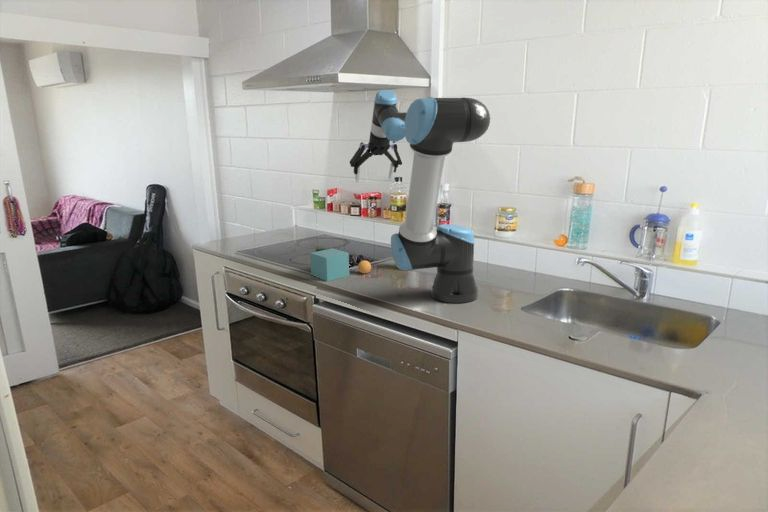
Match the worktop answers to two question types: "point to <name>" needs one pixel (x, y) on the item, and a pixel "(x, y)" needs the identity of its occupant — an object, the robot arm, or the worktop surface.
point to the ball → (364, 266)
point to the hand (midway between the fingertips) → (373, 179)
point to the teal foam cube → (329, 264)
